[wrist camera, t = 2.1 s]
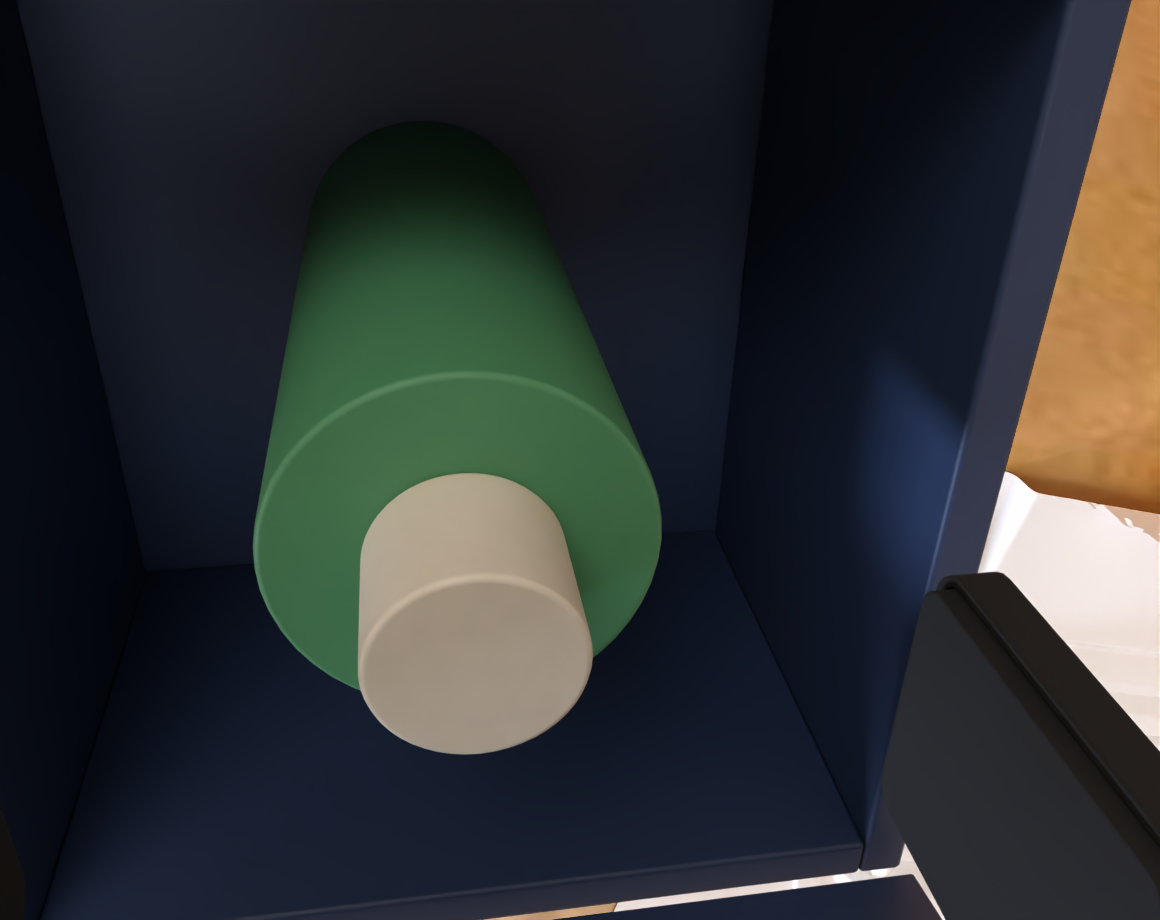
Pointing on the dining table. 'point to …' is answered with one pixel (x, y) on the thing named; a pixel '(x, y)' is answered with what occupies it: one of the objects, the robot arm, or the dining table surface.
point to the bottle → (448, 452)
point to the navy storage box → (638, 372)
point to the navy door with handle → (801, 904)
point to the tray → (1057, 617)
